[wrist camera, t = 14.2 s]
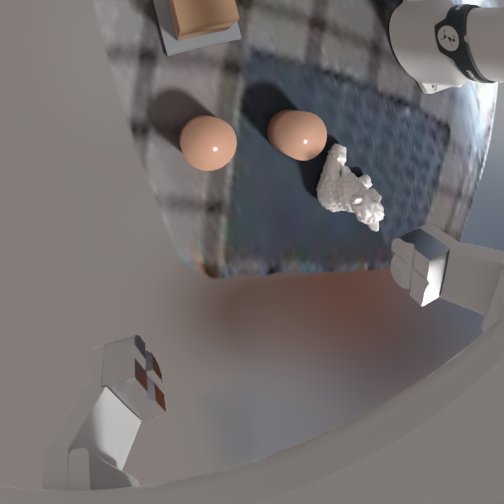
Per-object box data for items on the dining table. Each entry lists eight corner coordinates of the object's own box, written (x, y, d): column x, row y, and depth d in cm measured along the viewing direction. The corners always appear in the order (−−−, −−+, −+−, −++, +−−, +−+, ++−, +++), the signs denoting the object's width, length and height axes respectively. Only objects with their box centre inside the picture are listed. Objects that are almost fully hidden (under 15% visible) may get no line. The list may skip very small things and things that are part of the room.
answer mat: (224, -20, 25) (225, -22, 24) (240, 39, 30) (241, 38, 29) (151, -5, 24) (151, -7, 23) (167, 56, 29) (167, 55, 28)
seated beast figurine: (368, 180, 45) (420, 207, 35) (334, 219, 46) (379, 257, 36) (335, 139, 40) (389, 158, 30) (296, 183, 42) (341, 215, 32)
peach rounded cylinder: (220, 109, 34) (229, 110, 30) (232, 153, 37) (242, 161, 33) (173, 123, 33) (174, 127, 29) (187, 168, 36) (190, 177, 32)
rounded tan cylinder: (304, 105, 36) (322, 107, 32) (311, 147, 40) (329, 154, 35) (262, 114, 36) (276, 117, 31) (271, 157, 39) (286, 166, 35)
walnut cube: (216, -10, 25) (227, -28, 20) (227, 30, 28) (239, 18, 23) (167, -1, 24) (168, -18, 19) (177, 41, 28) (180, 30, 23)
